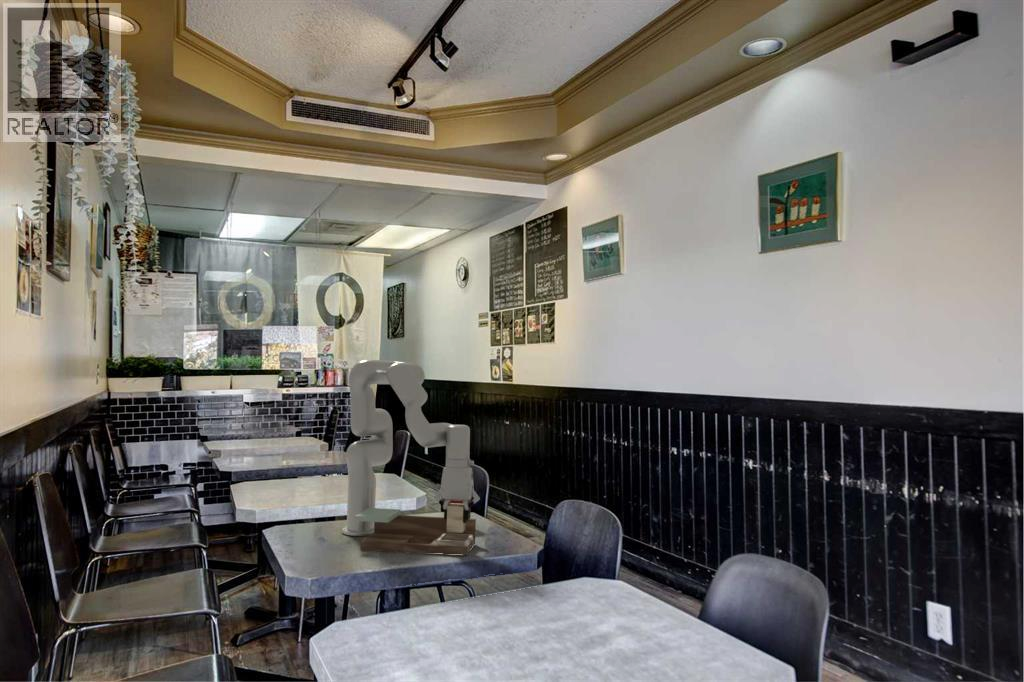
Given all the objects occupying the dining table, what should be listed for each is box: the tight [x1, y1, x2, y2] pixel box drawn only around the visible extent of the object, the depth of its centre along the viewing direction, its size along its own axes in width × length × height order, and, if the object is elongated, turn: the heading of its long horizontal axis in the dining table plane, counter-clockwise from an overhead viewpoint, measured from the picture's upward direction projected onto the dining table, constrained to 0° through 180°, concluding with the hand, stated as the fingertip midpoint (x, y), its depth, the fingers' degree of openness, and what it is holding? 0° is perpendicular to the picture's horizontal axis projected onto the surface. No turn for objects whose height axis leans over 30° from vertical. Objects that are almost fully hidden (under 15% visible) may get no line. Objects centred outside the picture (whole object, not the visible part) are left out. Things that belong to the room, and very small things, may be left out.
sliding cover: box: [354, 507, 402, 523], centre depth 212 cm, size 13×11×2 cm
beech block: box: [447, 503, 466, 533], centre depth 208 cm, size 5×5×8 cm
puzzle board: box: [359, 514, 477, 556], centre depth 210 cm, size 14×34×8 cm, turn 83°
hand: (456, 521), depth 207 cm, fingers closed on beech block, 5 cm apart
